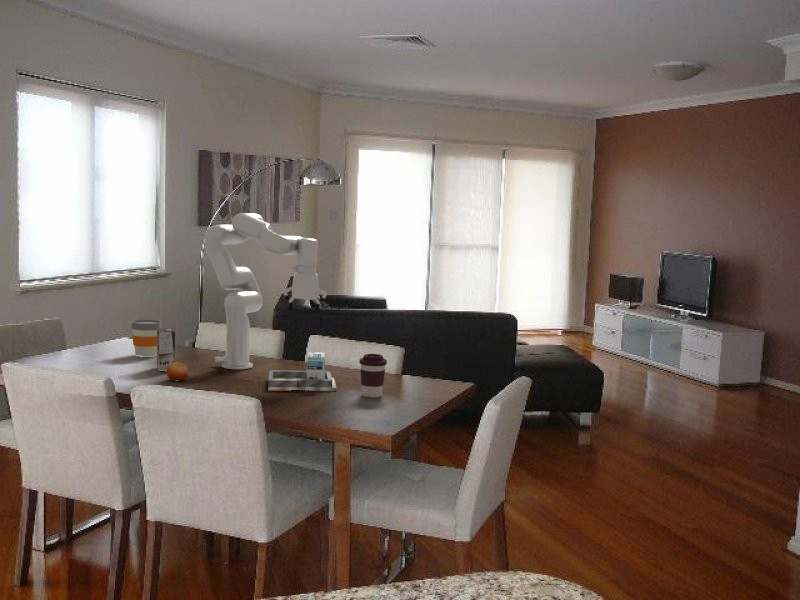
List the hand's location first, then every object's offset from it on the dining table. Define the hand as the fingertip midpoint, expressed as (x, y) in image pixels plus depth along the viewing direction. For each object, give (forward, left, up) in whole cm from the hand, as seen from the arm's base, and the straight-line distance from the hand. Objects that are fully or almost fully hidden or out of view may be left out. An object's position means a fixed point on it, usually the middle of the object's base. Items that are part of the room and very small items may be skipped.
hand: (303, 312), depth 318 cm
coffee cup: (+25, -30, -26) cm, 47 cm away
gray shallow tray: (0, -14, -26) cm, 29 cm away
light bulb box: (+5, -13, -25) cm, 29 cm away
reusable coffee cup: (-66, +40, -26) cm, 82 cm away
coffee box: (-54, +12, -26) cm, 61 cm away
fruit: (-47, -8, -26) cm, 54 cm away
